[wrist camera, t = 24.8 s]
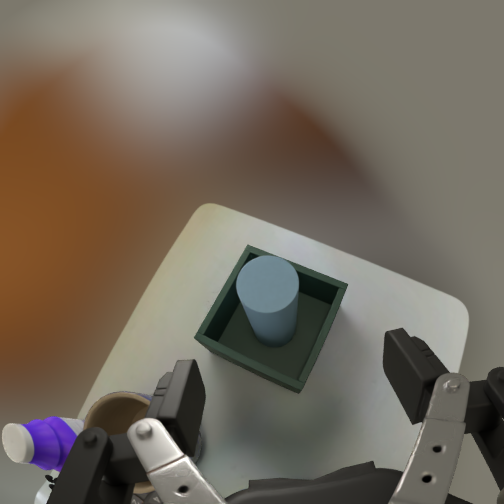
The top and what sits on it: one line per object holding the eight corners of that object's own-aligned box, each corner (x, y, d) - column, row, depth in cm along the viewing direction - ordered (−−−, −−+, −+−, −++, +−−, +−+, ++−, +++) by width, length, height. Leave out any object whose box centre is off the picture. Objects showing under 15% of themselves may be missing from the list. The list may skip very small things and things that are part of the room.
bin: (253, 269, 43) (247, 244, 37) (339, 304, 39) (348, 283, 33) (209, 350, 38) (193, 337, 32) (299, 393, 34) (301, 390, 28)
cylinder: (286, 301, 39) (283, 246, 27) (302, 337, 37) (309, 298, 25) (248, 316, 39) (227, 268, 27) (263, 353, 36) (249, 322, 24)
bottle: (78, 438, 33) (-12, 431, 18) (97, 413, 35) (6, 398, 20) (111, 474, 30) (23, 488, 15) (132, 449, 32) (44, 457, 17)
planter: (212, 478, 30) (184, 501, 20) (133, 472, 30) (85, 484, 21) (206, 397, 35) (176, 391, 25) (128, 396, 36) (80, 387, 26)
